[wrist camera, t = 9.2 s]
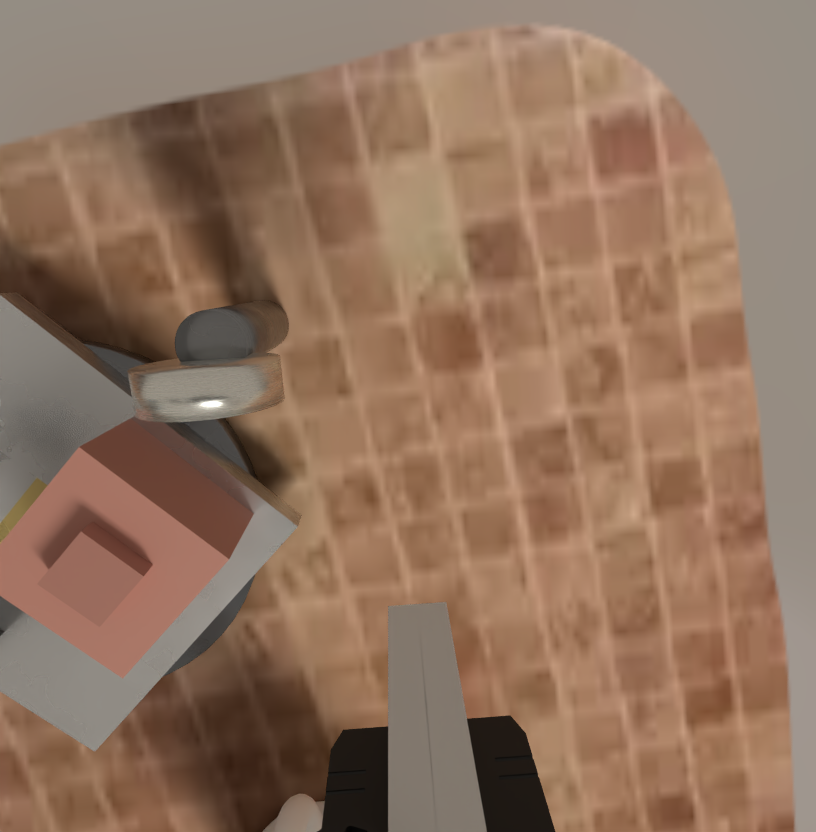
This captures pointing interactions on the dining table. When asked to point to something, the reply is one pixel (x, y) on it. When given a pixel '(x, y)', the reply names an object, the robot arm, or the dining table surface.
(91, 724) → the turntable
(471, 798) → the robot arm
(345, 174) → the dining table surface
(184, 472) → the cover
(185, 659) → the turntable base
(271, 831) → the mug
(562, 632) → the dining table surface
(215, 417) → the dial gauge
